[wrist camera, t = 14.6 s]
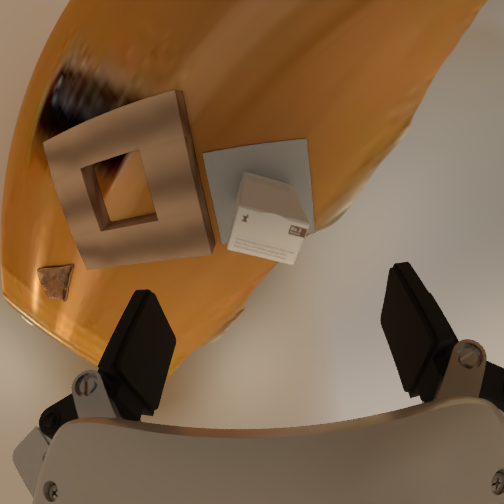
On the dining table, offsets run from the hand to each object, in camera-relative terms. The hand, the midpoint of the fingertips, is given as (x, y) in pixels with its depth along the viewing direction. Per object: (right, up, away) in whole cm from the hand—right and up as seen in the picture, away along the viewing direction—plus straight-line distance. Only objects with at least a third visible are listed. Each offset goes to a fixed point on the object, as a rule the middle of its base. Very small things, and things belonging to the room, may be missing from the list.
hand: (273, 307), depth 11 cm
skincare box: (+1, +9, +22) cm, 24 cm away
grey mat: (0, +9, +23) cm, 24 cm away
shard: (-37, -2, +31) cm, 48 cm away
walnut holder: (-17, +11, +22) cm, 30 cm away
